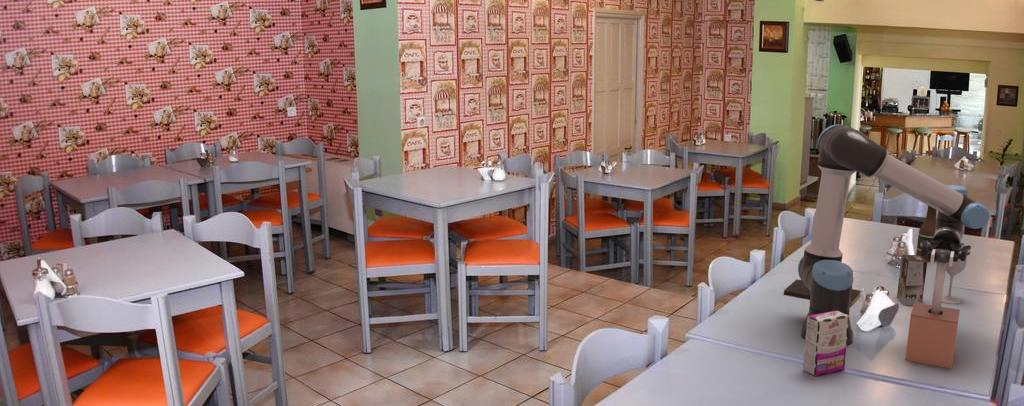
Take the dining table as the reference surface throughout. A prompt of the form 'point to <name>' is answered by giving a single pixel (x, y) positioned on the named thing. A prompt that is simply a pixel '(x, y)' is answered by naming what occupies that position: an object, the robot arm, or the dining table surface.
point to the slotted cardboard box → (932, 335)
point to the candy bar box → (825, 343)
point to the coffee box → (911, 279)
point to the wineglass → (953, 271)
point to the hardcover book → (803, 292)
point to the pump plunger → (939, 278)
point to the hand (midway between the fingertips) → (941, 260)
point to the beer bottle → (927, 230)
